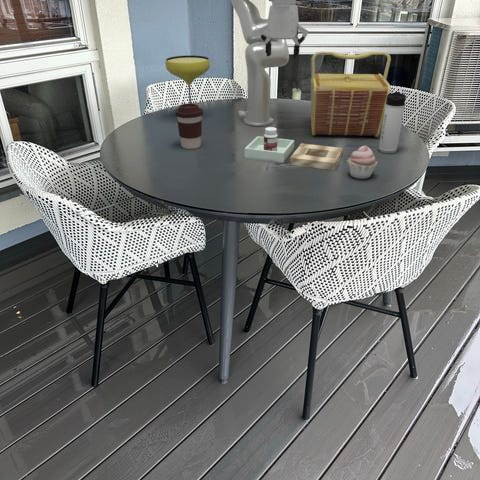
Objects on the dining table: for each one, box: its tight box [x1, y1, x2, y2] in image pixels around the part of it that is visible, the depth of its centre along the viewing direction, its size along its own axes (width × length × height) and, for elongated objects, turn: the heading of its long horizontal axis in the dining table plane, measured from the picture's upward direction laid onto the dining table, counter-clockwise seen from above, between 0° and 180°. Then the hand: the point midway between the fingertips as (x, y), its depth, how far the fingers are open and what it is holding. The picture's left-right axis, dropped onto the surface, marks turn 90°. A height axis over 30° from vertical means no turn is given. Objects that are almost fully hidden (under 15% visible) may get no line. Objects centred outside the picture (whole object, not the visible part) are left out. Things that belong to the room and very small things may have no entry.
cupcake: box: [346, 145, 378, 180], centre depth 141 cm, size 9×9×10 cm
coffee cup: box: [174, 102, 204, 150], centre depth 164 cm, size 10×10×15 cm
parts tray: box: [244, 135, 295, 164], centre depth 160 cm, size 14×14×4 cm
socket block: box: [289, 143, 344, 171], centre depth 155 cm, size 15×15×2 cm
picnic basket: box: [310, 50, 392, 138], centre depth 175 cm, size 29×26×30 cm
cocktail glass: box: [165, 55, 211, 119], centre depth 191 cm, size 18×18×25 cm
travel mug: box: [378, 91, 407, 155], centre depth 157 cm, size 6×7×20 cm
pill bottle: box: [263, 126, 279, 152], centre depth 158 cm, size 5×5×8 cm
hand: (282, 56), depth 157 cm, fingers open, 9 cm apart
